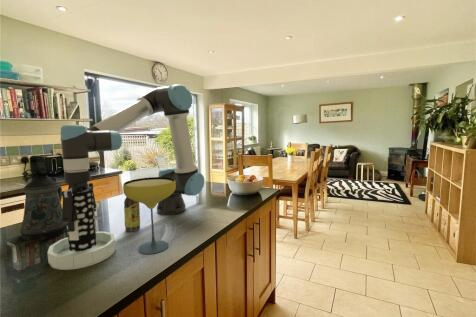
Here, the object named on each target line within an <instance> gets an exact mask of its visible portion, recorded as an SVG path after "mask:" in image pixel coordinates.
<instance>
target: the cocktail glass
mask: <svg viewBox="0 0 476 317" xmlns="http://www.w3.org/2000/svg"><path fill="white" fill-rule="evenodd" d="M175 189H176V182H175V180H174V179H173V178H167V177H159V176H155V177H154V176H152V177H141V178H137V179H132V180H128V181H125V182H124V183H123V185H122V190H123V194H124V196H125V197H128V198H129V199H131V200H134V201H137V202H139V204H143V205H145V206H146V208H148V210H150V217H151V218H150V219H151V220H150V221H151V241H148V242H144V243H142V244H141V245H140V246H139V247H138V248H137V250H138V252H139V253H140V254H142V255H155V254H159V253H162V252H164V251H166V250H168V248H169V246H170V245H169V243H168V242H167V241H166V240H165V241H164V240H156V238H155V229H154V228H155V227H154V212H153V209H155V208H156V207H157V205H158V203H159V202H160V201H162V200H163V199H165V198H167V197H169V196H170V195H171V194H172V193H173V192H174V191H175Z"/></svg>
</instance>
